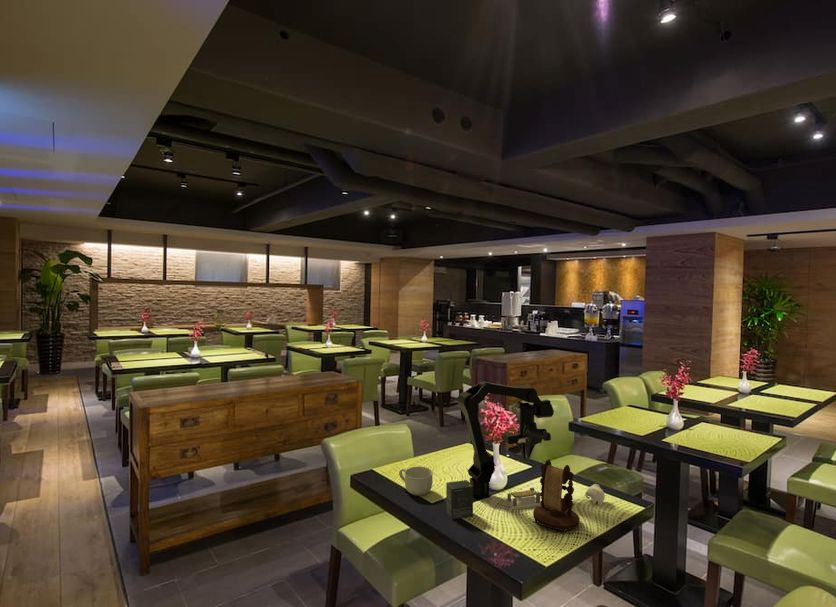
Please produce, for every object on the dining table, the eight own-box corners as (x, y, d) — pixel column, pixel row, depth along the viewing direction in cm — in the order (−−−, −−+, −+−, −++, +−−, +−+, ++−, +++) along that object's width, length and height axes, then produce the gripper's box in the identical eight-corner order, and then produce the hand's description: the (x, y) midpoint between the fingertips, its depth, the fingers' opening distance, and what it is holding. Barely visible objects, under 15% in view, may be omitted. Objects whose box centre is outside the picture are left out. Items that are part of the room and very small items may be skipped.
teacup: (438, 492, 171) (438, 471, 171) (419, 501, 163) (419, 479, 163) (411, 481, 180) (411, 462, 180) (392, 490, 172) (392, 469, 172)
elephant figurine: (586, 496, 169) (586, 480, 169) (608, 501, 165) (609, 485, 165) (582, 503, 163) (582, 487, 163) (606, 508, 159) (606, 492, 159)
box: (466, 509, 157) (466, 479, 157) (473, 517, 152) (473, 485, 152) (445, 512, 155) (446, 481, 155) (451, 520, 149) (452, 488, 149)
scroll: (524, 522, 148) (525, 462, 148) (545, 508, 159) (546, 451, 159) (567, 539, 138) (568, 475, 138) (586, 522, 149) (587, 462, 149)
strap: (514, 498, 160) (514, 495, 160) (510, 494, 162) (510, 492, 162) (538, 494, 163) (538, 492, 163) (533, 491, 165) (534, 489, 165)
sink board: (514, 509, 157) (514, 497, 157) (504, 501, 164) (504, 489, 164) (543, 505, 161) (544, 493, 161) (533, 497, 168) (533, 486, 168)
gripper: (516, 426, 164) (515, 468, 164) (559, 422, 169) (559, 463, 170) (501, 418, 174) (500, 458, 175) (543, 415, 180) (542, 453, 180)
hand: (526, 458), depth 174 cm, fingers closed
